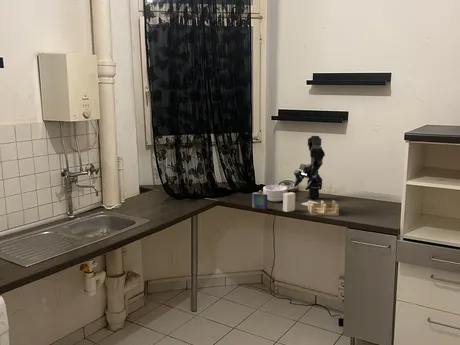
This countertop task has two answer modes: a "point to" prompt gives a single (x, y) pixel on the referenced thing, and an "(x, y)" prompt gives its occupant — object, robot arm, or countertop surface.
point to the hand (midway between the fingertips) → (300, 188)
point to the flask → (259, 200)
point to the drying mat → (307, 203)
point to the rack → (323, 208)
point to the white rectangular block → (288, 202)
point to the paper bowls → (275, 192)
